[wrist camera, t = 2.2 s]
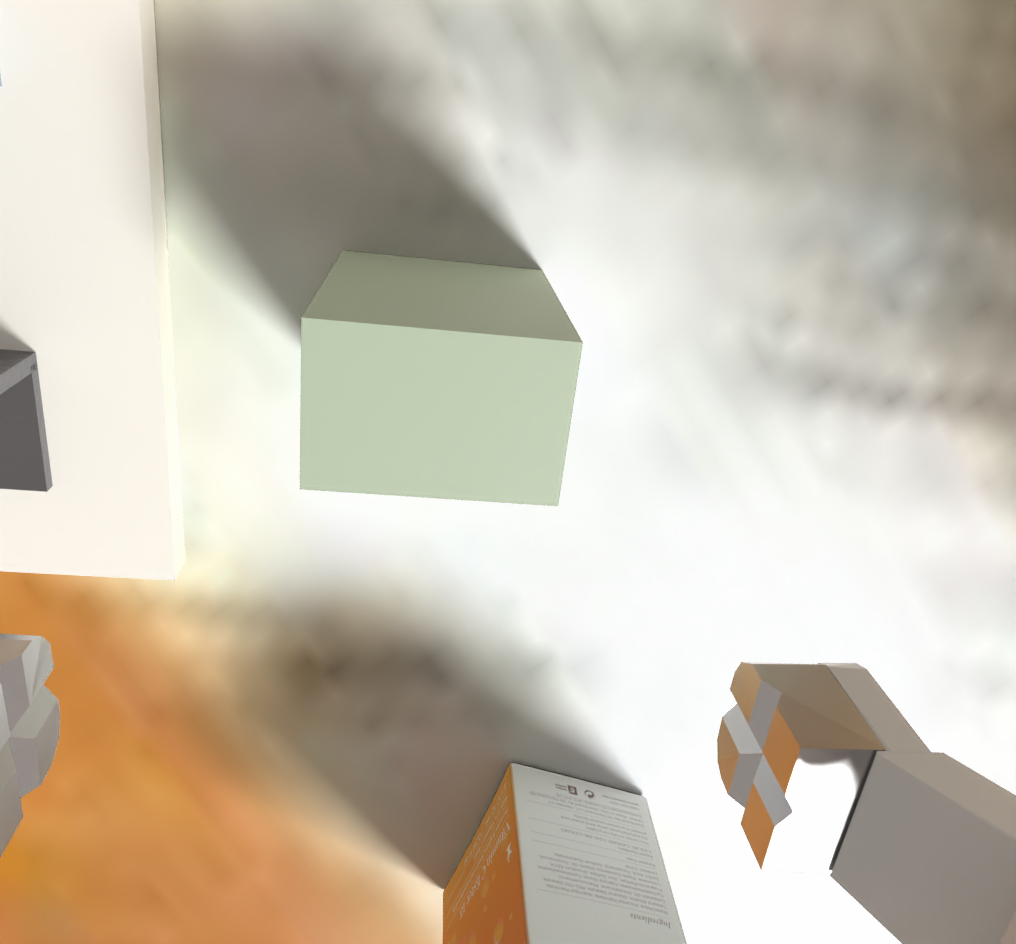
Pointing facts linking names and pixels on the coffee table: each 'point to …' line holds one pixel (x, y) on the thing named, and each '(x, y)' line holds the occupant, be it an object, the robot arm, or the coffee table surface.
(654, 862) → the small box
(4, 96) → the slotted holder
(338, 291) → the sage green cuboid
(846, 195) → the coffee table surface
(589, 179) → the coffee table surface
